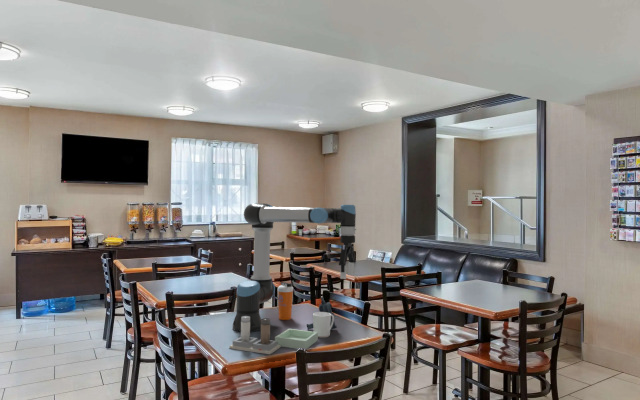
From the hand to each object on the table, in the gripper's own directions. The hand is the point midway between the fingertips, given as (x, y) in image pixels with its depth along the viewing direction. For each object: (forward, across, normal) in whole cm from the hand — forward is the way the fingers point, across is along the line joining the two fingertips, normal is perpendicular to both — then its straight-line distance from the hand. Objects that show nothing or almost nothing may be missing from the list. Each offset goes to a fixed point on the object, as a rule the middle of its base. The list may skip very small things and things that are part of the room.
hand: (347, 277), depth 214 cm
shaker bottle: (+28, +13, +40) cm, 51 cm away
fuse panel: (+28, -39, +30) cm, 57 cm away
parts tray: (+28, -25, +16) cm, 41 cm away
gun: (+28, 0, +13) cm, 31 cm away
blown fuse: (+27, -39, +25) cm, 54 cm away
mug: (+28, -8, +9) cm, 31 cm away
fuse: (+27, -39, +35) cm, 59 cm away
